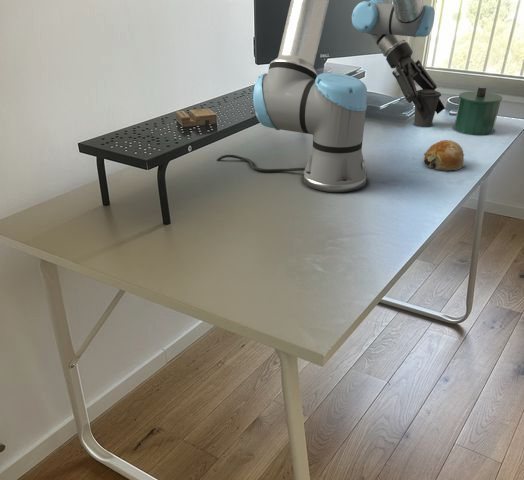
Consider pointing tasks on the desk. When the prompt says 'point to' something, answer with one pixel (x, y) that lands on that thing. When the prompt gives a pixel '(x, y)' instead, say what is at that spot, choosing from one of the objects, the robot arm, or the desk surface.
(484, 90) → the pot lid
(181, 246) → the desk surface
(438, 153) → the bread roll
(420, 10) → the robot arm
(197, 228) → the desk surface
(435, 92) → the coffee cup
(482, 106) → the pot
